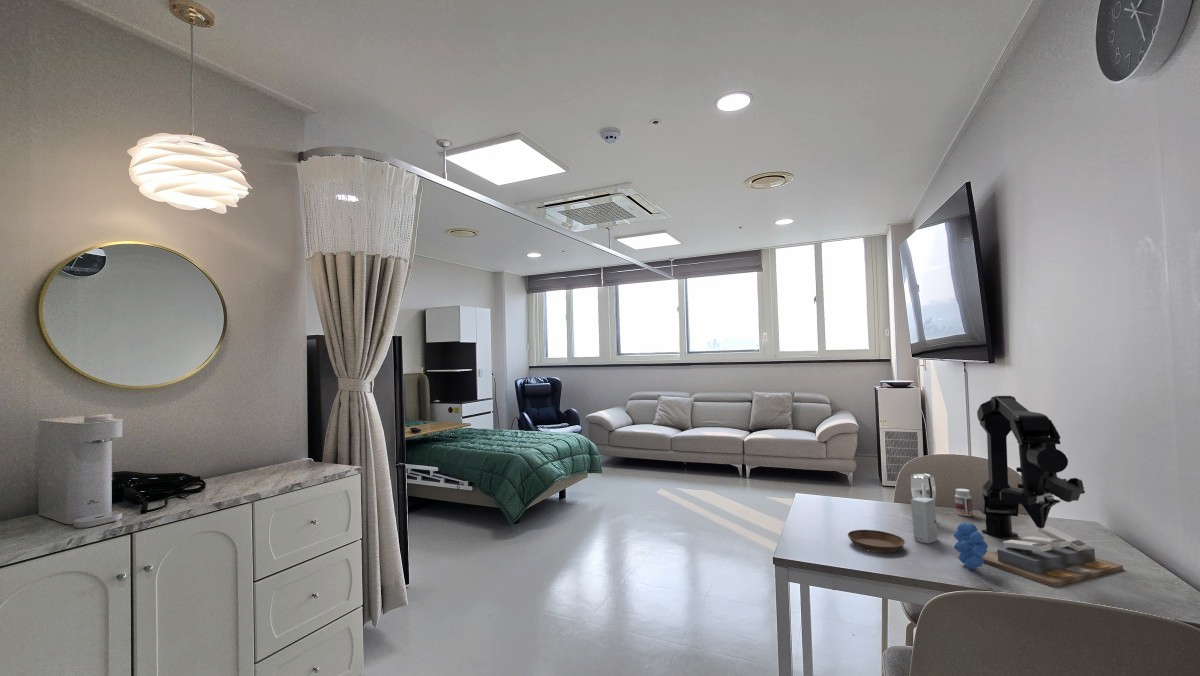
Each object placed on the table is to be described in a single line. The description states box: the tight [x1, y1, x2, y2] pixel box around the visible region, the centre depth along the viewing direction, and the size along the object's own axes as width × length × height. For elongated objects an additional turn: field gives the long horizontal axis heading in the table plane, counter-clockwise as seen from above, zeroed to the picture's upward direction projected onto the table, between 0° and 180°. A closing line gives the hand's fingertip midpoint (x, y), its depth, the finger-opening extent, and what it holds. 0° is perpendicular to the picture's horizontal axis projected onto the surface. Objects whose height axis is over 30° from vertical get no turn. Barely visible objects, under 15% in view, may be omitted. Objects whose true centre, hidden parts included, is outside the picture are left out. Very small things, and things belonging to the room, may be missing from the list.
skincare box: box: [910, 497, 939, 544], centre depth 149 cm, size 6×4×12 cm
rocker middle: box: [1020, 535, 1070, 548], centre depth 129 cm, size 4×9×1 cm, turn 18°
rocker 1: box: [1002, 539, 1052, 552], centre depth 127 cm, size 4×9×1 cm, turn 18°
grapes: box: [953, 522, 989, 571], centre depth 128 cm, size 12×7×12 cm, turn 171°
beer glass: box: [910, 473, 937, 505], centre depth 167 cm, size 7×7×15 cm
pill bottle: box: [954, 488, 974, 517], centre depth 172 cm, size 5×5×8 cm
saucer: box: [847, 529, 906, 554], centre depth 146 cm, size 15×15×3 cm
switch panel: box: [982, 537, 1124, 588], centre depth 129 cm, size 26×18×5 cm
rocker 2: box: [1038, 525, 1089, 551], centre depth 131 cm, size 4×9×1 cm, turn 18°
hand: (1040, 527), depth 124 cm, fingers closed
